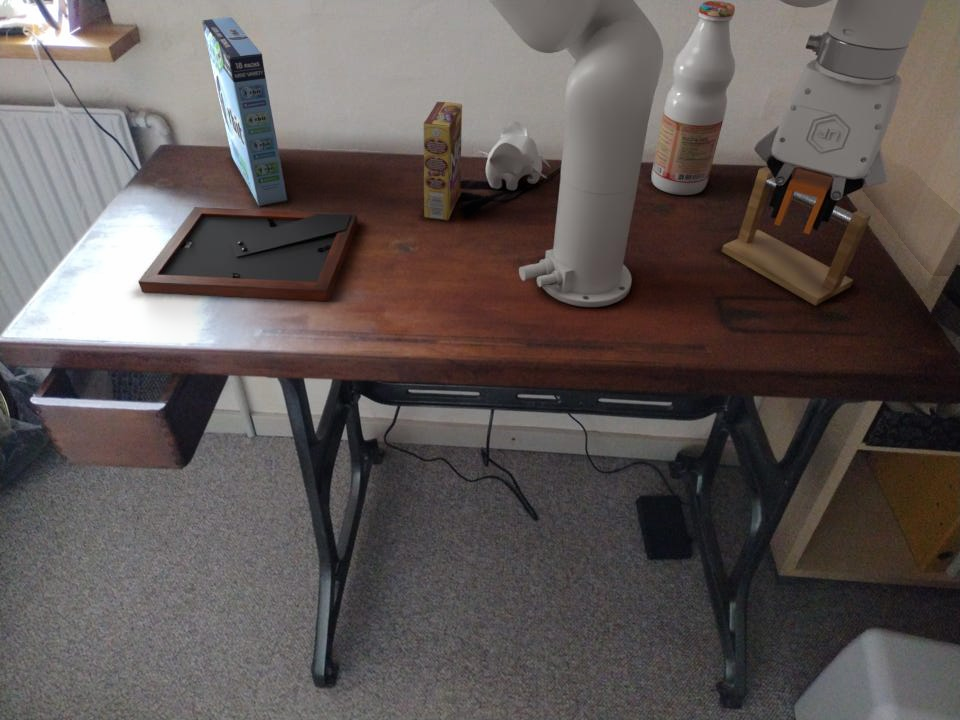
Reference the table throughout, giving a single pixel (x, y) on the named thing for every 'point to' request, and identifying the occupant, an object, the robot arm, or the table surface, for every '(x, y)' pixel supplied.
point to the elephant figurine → (513, 158)
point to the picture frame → (253, 254)
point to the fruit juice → (695, 104)
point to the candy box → (442, 160)
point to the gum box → (246, 108)
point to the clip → (805, 185)
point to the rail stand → (788, 262)
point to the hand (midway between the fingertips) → (796, 217)
